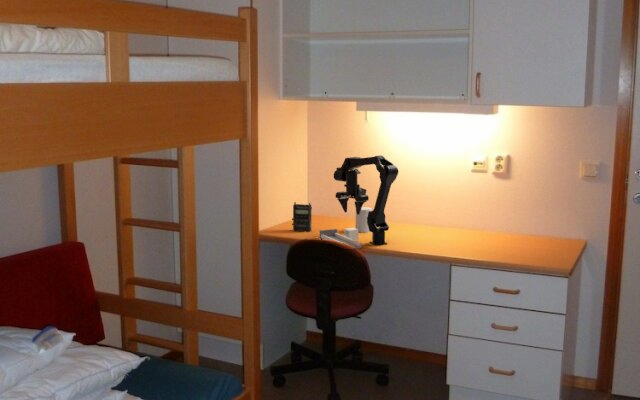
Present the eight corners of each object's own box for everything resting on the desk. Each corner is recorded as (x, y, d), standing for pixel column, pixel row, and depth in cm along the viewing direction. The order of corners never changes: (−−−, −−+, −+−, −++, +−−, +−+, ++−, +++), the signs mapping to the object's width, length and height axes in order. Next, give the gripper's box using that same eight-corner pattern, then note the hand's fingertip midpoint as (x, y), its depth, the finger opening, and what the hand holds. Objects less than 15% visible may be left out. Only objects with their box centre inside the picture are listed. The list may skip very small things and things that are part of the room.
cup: (371, 229, 379) (371, 207, 377) (370, 232, 371) (371, 210, 369) (355, 229, 380) (356, 206, 378) (355, 232, 372) (355, 209, 370)
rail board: (362, 247, 338) (362, 239, 338) (343, 249, 334) (343, 241, 333) (335, 236, 361) (336, 228, 360) (318, 238, 357) (318, 230, 356)
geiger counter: (290, 231, 373) (290, 202, 371) (293, 229, 378) (293, 201, 375) (310, 232, 371) (310, 203, 369) (312, 230, 375) (312, 202, 373)
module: (358, 239, 356) (358, 229, 355) (349, 240, 354) (349, 230, 353) (353, 237, 361) (353, 227, 360) (344, 238, 358) (344, 228, 357)
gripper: (376, 182, 354) (376, 213, 357) (350, 179, 368) (351, 209, 371) (360, 184, 347) (360, 216, 350) (334, 181, 361) (334, 211, 364)
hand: (351, 213), depth 359 cm, fingers open, 9 cm apart
